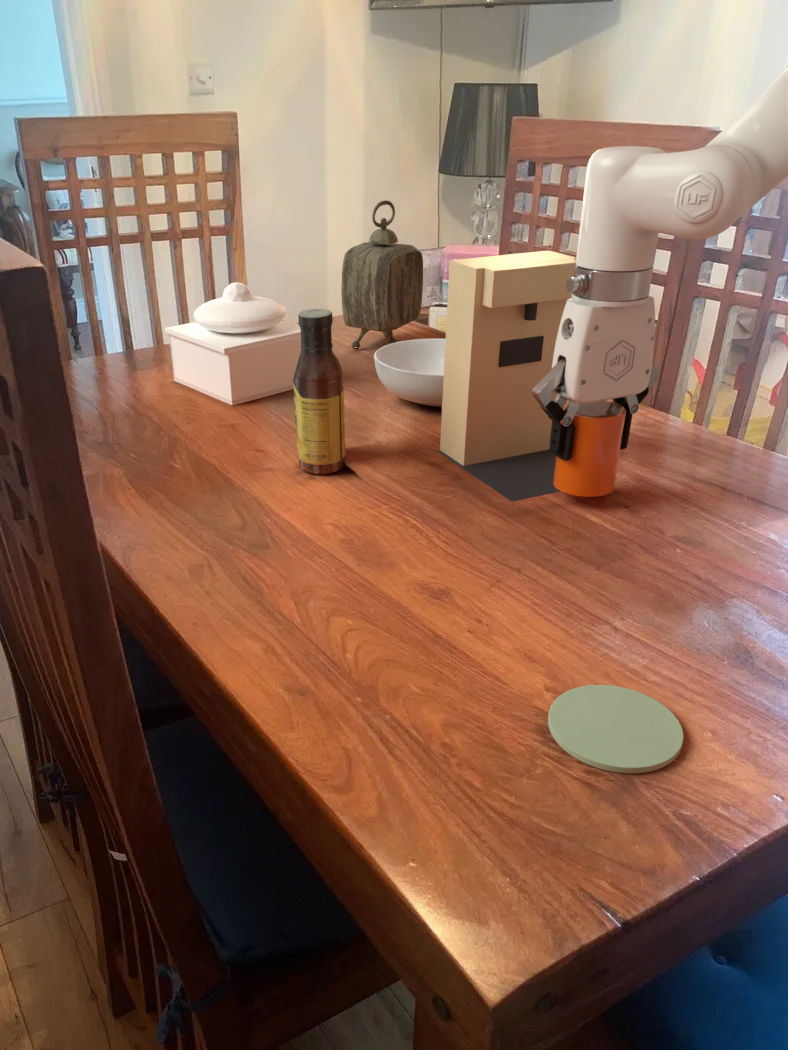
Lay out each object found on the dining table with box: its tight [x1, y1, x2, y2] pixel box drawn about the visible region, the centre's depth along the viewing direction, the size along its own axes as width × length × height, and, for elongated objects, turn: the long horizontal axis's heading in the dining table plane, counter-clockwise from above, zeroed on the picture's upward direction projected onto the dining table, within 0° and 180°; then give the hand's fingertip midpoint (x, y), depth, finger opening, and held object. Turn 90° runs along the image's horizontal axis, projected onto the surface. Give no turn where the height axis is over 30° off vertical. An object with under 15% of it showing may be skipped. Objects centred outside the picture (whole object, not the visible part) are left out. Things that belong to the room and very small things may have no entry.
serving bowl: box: [373, 337, 446, 408], centre depth 134 cm, size 21×21×7 cm
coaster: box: [547, 684, 685, 775], centre depth 67 cm, size 10×10×1 cm
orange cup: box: [553, 400, 626, 498], centre depth 96 cm, size 7×7×9 cm
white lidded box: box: [164, 281, 301, 406], centre depth 140 cm, size 18×18×16 cm
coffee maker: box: [436, 250, 576, 503], centre depth 103 cm, size 18×15×25 cm
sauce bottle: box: [293, 308, 347, 476], centre depth 107 cm, size 6×6×20 cm
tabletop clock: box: [341, 200, 424, 350], centre depth 157 cm, size 14×9×25 cm, turn 145°
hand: (588, 449), depth 96 cm, fingers closed on orange cup, 6 cm apart
